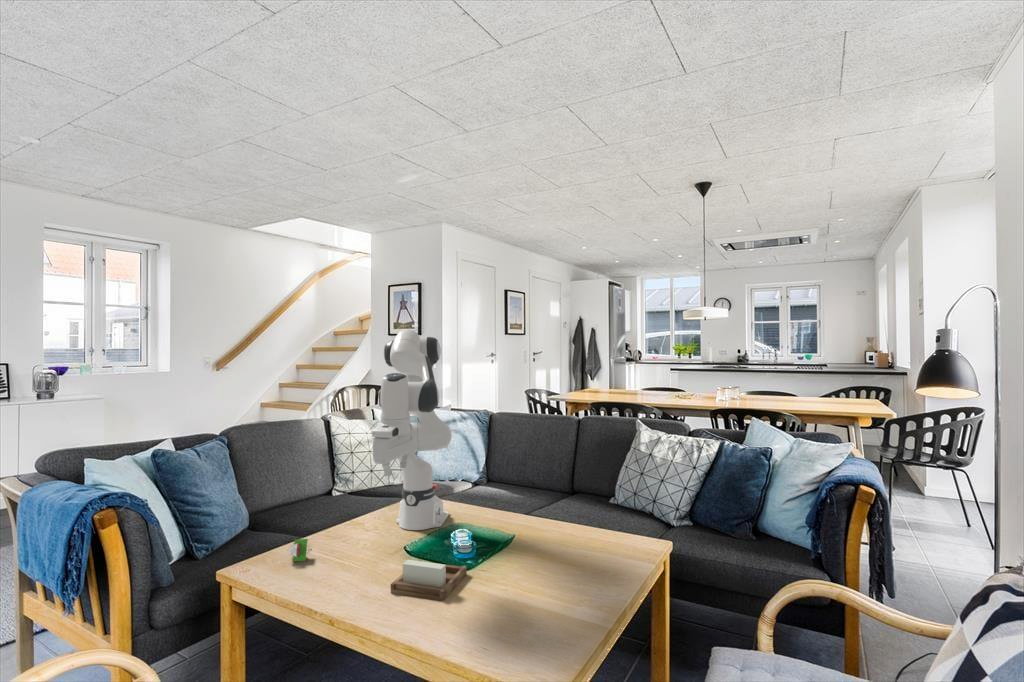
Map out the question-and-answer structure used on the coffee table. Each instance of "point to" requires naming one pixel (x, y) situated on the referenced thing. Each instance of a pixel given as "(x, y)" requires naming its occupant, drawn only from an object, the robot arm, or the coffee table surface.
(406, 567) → the white rectangular block
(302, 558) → the geometric puzzle
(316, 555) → the coffee table surface
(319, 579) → the coffee table surface
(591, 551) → the coffee table surface
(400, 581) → the brown wooden flat frame
